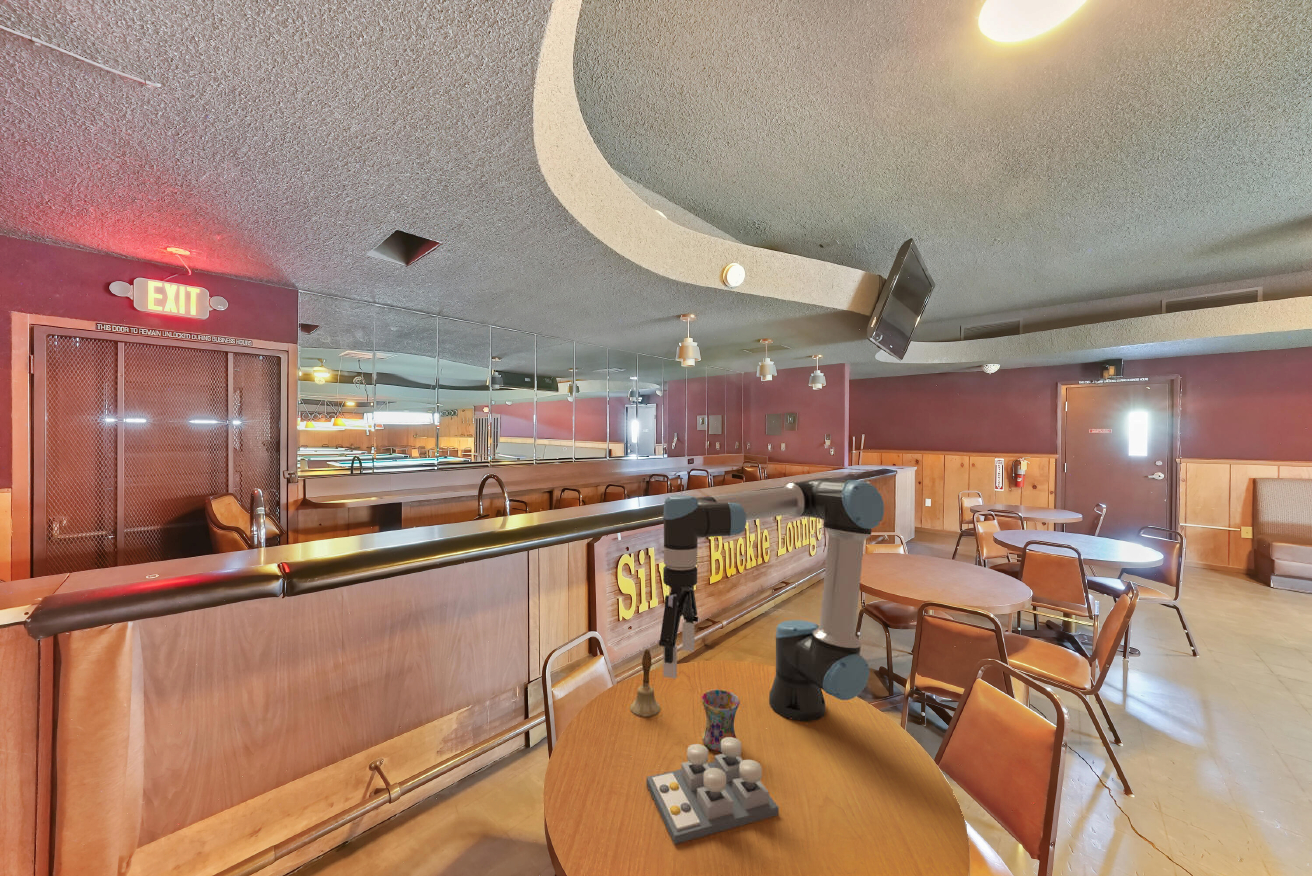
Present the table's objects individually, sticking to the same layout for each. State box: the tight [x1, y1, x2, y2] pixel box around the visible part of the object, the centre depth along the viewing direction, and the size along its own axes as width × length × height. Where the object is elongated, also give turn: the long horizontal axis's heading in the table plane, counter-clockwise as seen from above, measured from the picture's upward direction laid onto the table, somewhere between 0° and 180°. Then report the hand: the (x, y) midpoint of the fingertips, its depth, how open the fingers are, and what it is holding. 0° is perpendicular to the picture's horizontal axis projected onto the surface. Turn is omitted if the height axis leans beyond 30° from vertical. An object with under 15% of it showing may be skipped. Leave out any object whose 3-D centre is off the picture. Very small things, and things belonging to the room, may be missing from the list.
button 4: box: [704, 768, 726, 800], centre depth 91 cm, size 4×4×4 cm
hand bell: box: [629, 648, 661, 718], centre depth 128 cm, size 8×8×16 cm
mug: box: [700, 689, 741, 752], centre depth 115 cm, size 12×9×11 cm
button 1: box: [720, 737, 742, 765], centre depth 101 cm, size 4×4×4 cm
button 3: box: [686, 743, 709, 773], centre depth 99 cm, size 4×4×4 cm
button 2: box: [739, 759, 763, 790], centre depth 94 cm, size 4×4×4 cm
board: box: [646, 753, 780, 845], centre depth 95 cm, size 22×16×4 cm
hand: (679, 662), depth 102 cm, fingers open, 13 cm apart
